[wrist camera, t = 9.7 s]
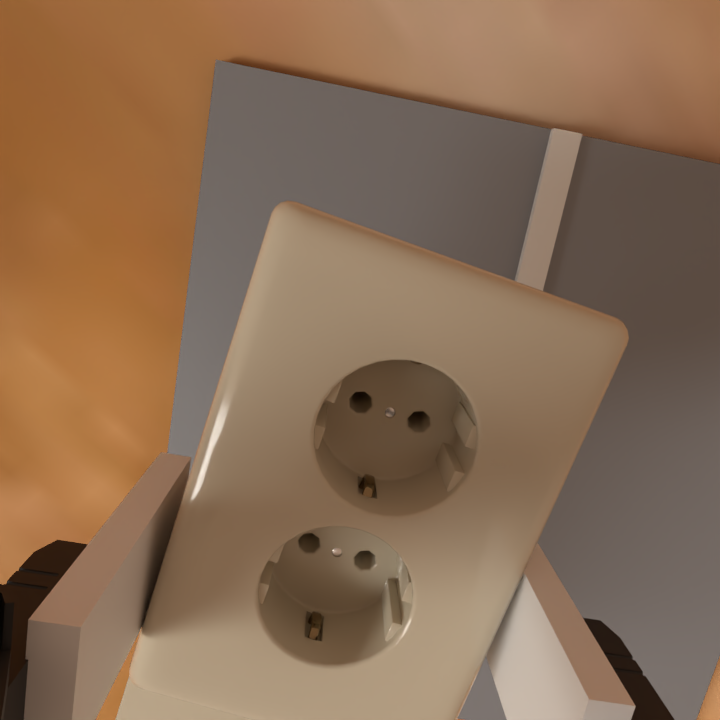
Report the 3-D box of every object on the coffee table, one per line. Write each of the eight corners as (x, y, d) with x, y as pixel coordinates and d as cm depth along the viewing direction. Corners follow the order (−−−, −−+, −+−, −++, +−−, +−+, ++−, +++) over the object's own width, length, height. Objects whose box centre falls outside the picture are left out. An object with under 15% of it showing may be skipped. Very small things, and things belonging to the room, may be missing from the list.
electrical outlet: (39, 946, 14) (273, 193, 11) (106, 787, 18) (293, 201, 14) (330, 1014, 15) (645, 328, 11) (333, 847, 19) (566, 300, 15)
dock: (131, 771, 27) (124, 789, 26) (219, 64, 20) (213, 57, 20) (643, 833, 29) (653, 852, 28) (872, 199, 22) (894, 198, 21)
